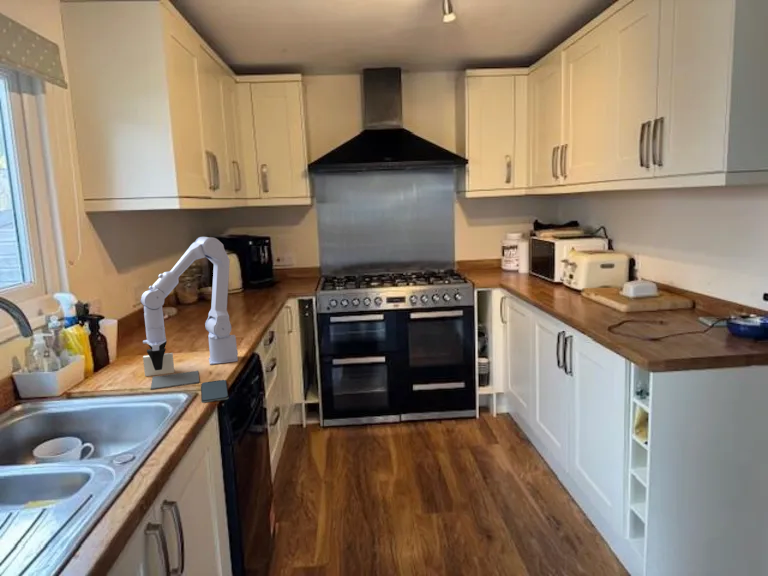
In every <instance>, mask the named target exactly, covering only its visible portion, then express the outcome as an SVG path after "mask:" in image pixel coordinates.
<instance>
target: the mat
mask: <svg viewBox="0 0 768 576" xmlns="http://www.w3.org/2000/svg"><path fill="white" fill-rule="evenodd" d="M195 384H200V377H199V370H192V371H187V372H179V373H169V374H161V375H154V376H152V379H151V385H150V390H151V389H152V390H157V389H158V390H159V388H160V389H166V387H167V388H172V387H173V388H174V387H180V386H187V385H195Z"/></svg>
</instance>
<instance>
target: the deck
mask: <svg viewBox="0 0 768 576" xmlns="http://www.w3.org/2000/svg"><path fill="white" fill-rule="evenodd" d="M142 360H143V361H142V362H143V368H144V369H143V370H144V377H151V376H152V377H153V376H161V375H168V374H175V364H174V352H165V353H164V356H163V366H162V370H155V369H154V366H153V363H152V360H151V358H150V356H149V355H148V354H147V355H143V356H142Z"/></svg>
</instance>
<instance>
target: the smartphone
mask: <svg viewBox="0 0 768 576" xmlns="http://www.w3.org/2000/svg"><path fill="white" fill-rule="evenodd" d="M200 385H201V386H200V393H201V395H200V397H201V399H200V400H201V403H203V404H204V403H211V402H212V403H214V402H220V401H226V400H227V401H228V399H230V398H229V390H228V389H229V386H228V384H227V380H226V379H220V380H219V379H218V380H217V379H216V380H211V381H205V382H202V383H201V384H200Z"/></svg>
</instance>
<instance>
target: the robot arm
mask: <svg viewBox="0 0 768 576" xmlns="http://www.w3.org/2000/svg"><path fill="white" fill-rule="evenodd" d="M205 258H206V259H208V260H209V261H210V262H211V263H212V264H213V270H212V273H213V274H212V275H213V276H212V286H211V287H212V288H211V289H212V290H211V307H210V310H209V312H208V315H207V316H208V317H207V319H206V320H205V323H204V325H205V330H206V331H207V332H208V336H207V337H208V348H209V357H208V362H209V365H217V364H226V363H233V362H238V361H239V360H238V359H239V358H238V355H239V353H238V349H237V348H238V346H237V345H238V344H237V339H236V338H237V337H236V334H231V332H232V325H231V322H230V314H229V312H228V295H229V278H230V277H229V276H230V258H229V256H228V253H227V252H226V249H225V246H224V244H223V243H222V242H221V241H220V240H219V239H218V238H216V237H212V236H211V237H208V236H199V237H197V238H196V240H195V241H194V242H192V243H191V244H190V246H189V247H188V248H187V249H186V251H185V252H184V253H183V255H182V256H181V257H180V258H179V260H177V262H176V263H175V265H174V266H173V267H172V268H171V270H168V271H164V272H163V273H159V274H158V279H157V280H156V281H155V282H154V283H153V284H152V285H149V287H148V290H146V291H144V292H143V293H142V295H141V298H140V299H139V300H140V303H141V304H142V305H143V312H144V313H143V316H144V325H145V327H144V328H145V335H146V339H144V340H142V344H144V345H145V344H147V345H148V346H149V349H147V350H146V353H147V355H149V356H150V358H151V360H152V363H153V366H154V369H155V370H162V366H163V356H164V353H166V350H167V349H166V345H167V337H166V329H165V321H164V311H163V306H164V304H165V299H166V298H167V297H168V296H169V295H170V293H172V291H173V290H174V289H175V288H176V287H177V285H178V284H179V283H180V282H179V278H180V276H181V275H182V274H183V273H184V272H185V271H186V270H188V268H189V267H190V266H191V265H192V264H193V263H195V261H197V260H200V259H205Z"/></svg>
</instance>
